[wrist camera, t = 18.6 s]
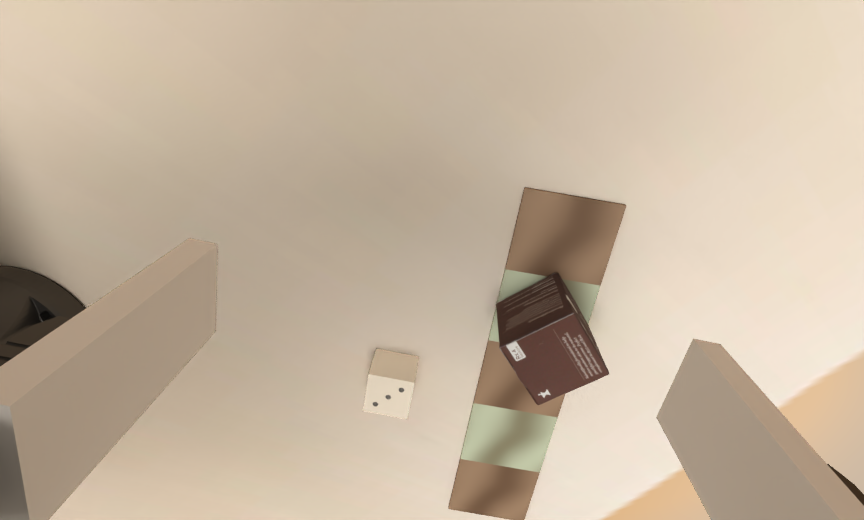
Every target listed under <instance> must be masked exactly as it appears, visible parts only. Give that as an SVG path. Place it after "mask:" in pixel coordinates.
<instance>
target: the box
mask: <svg viewBox="0 0 864 520" xmlns="http://www.w3.org/2000/svg"><path fill="white" fill-rule="evenodd" d="M496 310H497V323H498V333H499V349H500V350H501V352H502V353H503V355H504V356H505V358H506V359H507V361H508V362H509V364H510V365H511V367H512V368H513V370H514V371H515V373H516V375H517V377H518V379H519V380H520V381H521V382H522V383H523V385H524V386H525V388H526V389H527V391H528V393H529V394H530V395H531V397H532V399H533V400H534V402H535V403H536V404H537V405H541V404H543V403H545V402H548V401H550V400H552V399H554V398H556V397H559V396H561V395H563V394H565V393H567V392H570V391H572V390H574V389H577V388H579V387H581V386H584V385H586V384H588V383H591V382H593V381H595V380H597V379H600V378H602V377H604V376H606V375H608V374H609V371H608V369H607V367H606V365H605V363H604V361H603V359H602V356H601V354H600V352H599V349H598V347H597V345H596V342H595V339H594V337H593V335H592V333H591V331H590V328H589V325H588V323H587V322H586V320H585V318H584V316H583V314H582V313H581V311H580V309H579V307H578V305H577V304H576V302H575V300H574V298H573V297H572V295H571V293H570V291H569V290H568V288H567V286H566V285H565V283H564V282H563V280H562V278H561V276H560V274H559V273H554V274H552V275H550V276H548V277H546V278H544V279H542V280H540V281H538V282H537V283H535V284H533V285H531V286H529V287H527V288H525V289H523V290H521V291H519V292H517V293H515V294H513V295H511V296H509V297H507V298H505V299H503V300H501V301H499V302H498V303H496Z"/></svg>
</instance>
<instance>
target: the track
mask: <svg viewBox="0 0 864 520" xmlns="http://www.w3.org/2000/svg"><path fill="white" fill-rule="evenodd" d="M625 208H626V205H624V204H618V203H612V202H606V201H601V200H595V199H589V198H583V197H577V196H572V195H566V194H560V193H554V192H548V191H543V190H537V189H531V188H524V192H523V196H522V200H521V205H520V209H519V213H518V217H517V222H516V226H515V230H514V234H513V238H512V243H511V247H510V251H509V255H508V259H507V264H506V268H505V272H504V276H503V280H502V285H501V289H500V293H499V297H498V301H497V303H498V302H499V301H501V300H503V299H505V298H507V297H509V296H511V295H513V294H515V293H517V292H519V291H521V290H523V289H525V288H527V287H529V286H531V285H533V284H535V283H537V282H538V281H540V280H542V279H544V278H546V277H548V276H550V275H552V274H554V273H559V274H560V276H561V278H562V280H563V282H564V283H565V285H566V286H567V288H568V290H569V291H570V293H571V295H572V297H573V298H574V300H575V302H576V304H577V305H578V307H579V309H580V311H581V313H582V314H583V316H584V318H585V320H586V322H587V323H588V322H589V319H590V316H591V313H592V310H593V307H594V304H595V301H596V298H597V294H598V291H599V288H600V285H601V282H602V279H603V276H604V273H605V270H606V267H607V264H608V261H609V258H610V254H611V251H612V248H613V245H614V242H615V239H616V236H617V233H618V230H619V227H620V224H621V221H622V218H623V214H624V211H625ZM564 396H565V394H563V395H561V396H559V397H556V398H554V399H552V400H550V401H548V402H545V403H543V404H541V405H537V404H536V403H535V402H534V400H533V399H532V397H531V395H530V394H529V393H528V391H527V389H526V388H525V386H524V385H523V383H522V382H521V381H520V380H519V379H518V377H517V375H516V373H515V371H514V370H513V368H512V367H511V365H510V364H509V362H508V361H507V359H506V358H505V356H504V355H503V353H502V352H501V350H500V349H499V333H498V323H497V310H495V314H494V318H493V322H492V327H491V331H490V335H489V339H488V344H487V348H486V352H485V356H484V360H483V365H482V369H481V373H480V377H479V381H478V386H477V390H476V394H475V398H474V402H473V407H472V411H471V415H470V419H469V423H468V428H467V432H466V436H465V440H464V444H463V449H462V453H461V457H460V461H459V466H458V470H457V474H456V478H455V482H454V487H453V491H452V495H451V499H450V503H449V509H452V510H458V511H464V512H469V513H475V514H481V515H487V516H493V517H499V518H504V519H510V520H524V519H525V516H526V513H527V510H528V507H529V504H530V500H531V497H532V494H533V491H534V488H535V485H536V482H537V479H538V476H539V473H540V470H541V467H542V464H543V461H544V457H545V454H546V451H547V448H548V445H549V442H550V439H551V436H552V433H553V430H554V427H555V424H556V421H557V417H558V414H559V411H560V408H561V405H562V402H563V399H564Z"/></svg>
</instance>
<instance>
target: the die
mask: <svg viewBox="0 0 864 520" xmlns="http://www.w3.org/2000/svg"><path fill="white" fill-rule="evenodd" d="M418 360H419V357H418V356H413V355H408V354H403V353H397V352H392V351H387V350H381V349H376V351H375V354H374V357H373V361H372V364H371V367H370V370H369V374H368V380H367V386H366V393H365V399H364V405H363V411H365V412H370V413H375V414H381V415H386V416H391V417H396V418H402V419H408V414H409V409H410V404H411V399H412V394H413V389H414V384H415V379H416V372H417V366H418Z"/></svg>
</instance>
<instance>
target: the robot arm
mask: <svg viewBox="0 0 864 520" xmlns="http://www.w3.org/2000/svg"><path fill="white" fill-rule="evenodd" d="M217 260H218V244H216V243H211V242H206V241H201V240H196V239H191V238H189V239H188V240H186V241H185V242H183V243H182V244H180V245H179V246H177V247H176V248H174V249H173V250H171V251H170V252H168V253H167V254H166V255H164V256H163V257H161V258H160V259H158V260H157V261H155V262H154V263H152V264H151V265H149V266H148V267H146V268H145V269H143V270H142V271H140V272H139V273H138V274H136V275H135V276H133V277H132V278H130V279H129V280H127V281H126V282H124V283H123V284H121V285H120V286H118V287H117V288H115V289H114V290H112V291H111V292H110V293H108V294H107V295H105V296H104V297H102V298H101V299H99V300H98V301H96V302H95V303H93V304H92V305H90V306H89V307H87V308H86V309H85V308H84V307H83V306H82V305H81V304H80V303H79V302H78V301H77V300H76V299H75V298H74V297H73V296H72V295H71V294H69V293H68V292H67V291H66V290H64V289H63V288H62V287H60V286H59V285H57V284H55V283H54V282H52V281H50V280H49V279H47V278H45V277H43V276H40V275H38V274H36V273H33V272H30V271H27V270H24V269H20V268H15V267H8V266H0V520H49V519H50V517H51V516H52V515H53V514H54V513H55V512H56V511H57V510H58V508H59V507H60V506H61V505H62V504H63V503H64V502H65V501H66V499H67V498H68V497H69V496H70V495H71V494H72V493H73V492H74V490H75V489H76V488H77V487H78V486H79V485H80V484H81V483H82V481H83V480H84V479H85V478H86V477H87V476H88V475H89V473H90V472H91V471H92V470H93V469H94V468H95V467H96V466H97V464H98V463H99V462H100V461H101V460H102V459H103V458H104V457H105V455H106V454H107V453H108V452H109V451H110V450H111V449H112V448H113V446H114V445H115V444H116V443H117V442H118V441H119V440H120V439H121V437H122V436H123V435H124V434H125V433H126V432H127V431H128V430H129V428H130V427H131V426H132V425H133V424H134V423H135V422H136V420H137V419H138V418H139V417H140V416H141V415H142V414H143V413H144V411H145V410H146V409H147V408H148V407H149V406H150V405H151V404H152V402H153V401H154V400H155V399H156V398H157V397H158V396H159V395H160V393H161V392H162V391H163V390H164V389H165V388H166V387H167V386H168V384H169V383H170V382H171V381H172V380H173V379H174V378H175V377H176V375H177V374H178V373H179V372H180V371H181V370H182V369H183V367H184V366H185V365H186V364H187V363H188V362H189V361H190V360H191V358H192V357H193V356H194V355H195V354H196V353H197V352H198V351H199V349H200V348H201V347H202V346H203V345H204V344H205V343H206V342H207V340H208V339H209V338H210V337H211V336H212V335H213V334H214V333H215V331H216V299H217ZM656 418H657V419H658V421H659V423H660V425H661V427H662V429H663V431H664V433H665V434H666V436H667V438H668V440H669V442H670V444H671V446H672V448H673V449H674V451H675V453H676V455H677V457H678V459H679V461H680V462H681V464H682V466H683V468H684V470H685V472H686V474H687V475H688V477H689V479H690V481H691V483H692V485H693V487H694V489H695V491H696V492H697V494H698V496H699V498H700V500H701V502H702V504H703V506H704V507H705V509H706V511H707V513H708V515H709V517H710V519H711V520H864V494H863V493H862V492H861V491H860V490H859V489H858V488H857V487H856V486H855V485H854V484H853V483H852V482H850V481H849V480H848V479H846V478H845V477H844V476H843V475H842V474H840V473H839V472H838V471H836V470H835V469H834V468H833V467H831V466H830V465H829V464H826V463H825V462H824V460H823V459H822V458H821V457H820V456H819V455H818V454H817V453H816V452H815V450H814V449H813V448H812V447H811V446H810V445H809V444H808V442H807V441H806V440H805V439H804V438H803V437H802V436H801V434H800V433H799V432H798V431H797V430H796V429H795V428H794V427H793V426H792V424H791V423H790V422H789V421H788V420H787V419H786V418H785V416H783V414H782V413H781V412H780V411H779V410H778V409H777V407H776V406H775V405H774V404H773V403H772V402H771V401H770V400H769V398H768V397H767V396H766V395H765V394H764V393H763V392H762V391H761V389H760V388H759V387H758V386H757V385H756V384H755V383H754V382H753V380H752V379H751V378H750V377H749V376H748V375H747V374H746V373H745V371H744V370H743V369H742V368H741V367H740V366H739V365H738V364H737V362H736V361H735V360H734V359H733V358H732V357H731V356H730V354H729V353H728V352H727V351H726V350H725V349H724V348H723V347H722V345H721V344H717V343H712V342H707V341H702V340H697V339H693V340H692V342H691V345H690V347H689V349H688V351H687V353H686V355H685V357H684V360H683V362H682V364H681V366H680V368H679V370H678V372H677V374H676V377H675V379H674V381H673V383H672V385H671V387H670V389H669V392H668V394H667V396H666V398H665V400H664V402H663V404H662V407H661V409H660V411H659V413H658V415H657V417H656Z"/></svg>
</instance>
